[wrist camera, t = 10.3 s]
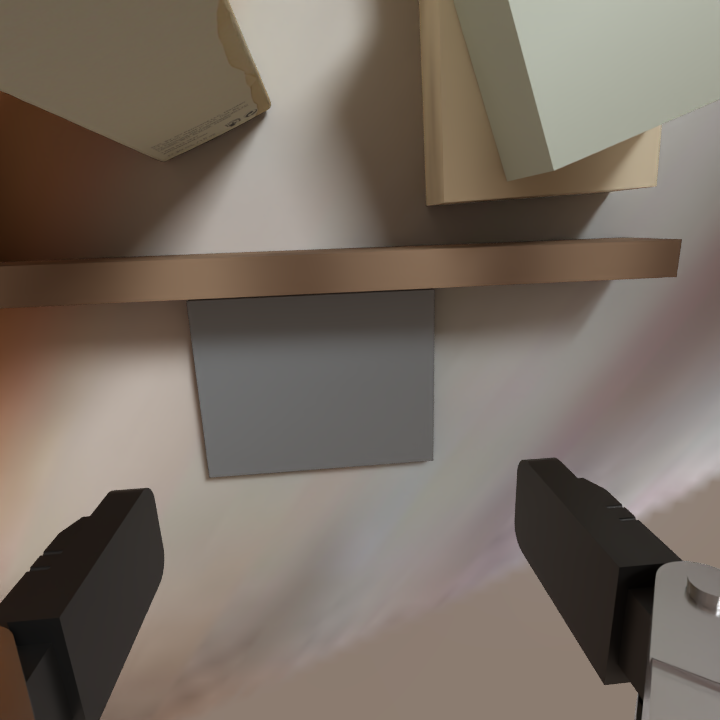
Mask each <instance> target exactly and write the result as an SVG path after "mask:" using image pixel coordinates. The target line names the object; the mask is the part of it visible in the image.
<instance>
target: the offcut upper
mask: <svg viewBox="0 0 720 720" xmlns="http://www.w3.org/2000/svg"><path fill="white" fill-rule="evenodd" d="M453 1H454V5H455V8H456V11H457V15H458V18H459V21H460V25H461V28H462V32H463V35H464V38H465V42H466V45H467V48H468V52H469V55H470V58H471V62H472V65H473V69H474V72H475V75H476V79H477V82H478V85H479V89H480V92H481V95H482V99H483V102H484V105H485V109H486V112H487V116H488V119H489V122H490V126H491V129H492V132H493V136H494V139H495V142H496V146H497V149H498V153H499V156H500V159H501V163H502V166H503V169H504V173H505V176H506V179H507V181H512V180H516V179H520V178H525V177H529V176H533V175H538V174H542V173H546V172H551V171H555V170H557V169H559V168H562V167H564V166H566V165H569V164H571V163H573V162H576V161H578V160H580V159H583V158H585V157H587V156H590V155H592V154H594V153H597V152H599V151H601V150H603V149H606V148H608V147H610V146H613V145H615V144H617V143H620V142H622V141H624V140H627V139H629V138H631V137H634V136H636V135H638V134H641V133H643V132H645V131H648V130H650V129H652V128H655V127H657V126H659V125H662V124H664V123H666V122H669V121H671V120H673V119H676V118H678V117H680V116H683V115H685V114H687V113H690V112H692V111H694V110H697V109H699V108H701V107H704V106H706V105H708V104H710V103H713V102H715V101H717V100H720V0H453Z"/></svg>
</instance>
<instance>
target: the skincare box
mask: <svg viewBox="0 0 720 720" xmlns="http://www.w3.org/2000/svg"><path fill="white" fill-rule="evenodd" d="M0 91H2V92H5V93H7V94H10V95H12V96H14V97H16V98H18V99H20V100H23V101H25V102H27V103H30V104H32V105H35V106H37V107H39V108H41V109H44V110H46V111H48V112H50V113H53V114H55V115H57V116H60V117H62V118H64V119H67V120H68V121H71V122H73V123H75V124H77V125H80V126H82V127H84V128H86V129H88V130H91V131H93V132H96V133H98V134H100V135H103V136H105V137H107V138H109V139H112V140H114V141H116V142H118V143H121V144H123V145H125V146H127V147H130V148H132V149H134V150H137V151H138V152H141V153H143V154H145V155H147V156H150V157H152V158H154V159H157V160H159V161H167V160H169V159H171V158H173V157H175V156H177V155H180V154H182V153H184V152H186V151H188V150H190V149H192V148H194V147H197V146H199V145H201V144H203V143H205V142H207V141H209V140H211V139H213V138H215V137H217V136H219V135H221V134H223V133H225V132H227V131H229V130H231V129H233V128H235V127H237V126H239V125H241V124H243V123H245V122H246V121H248V120H250V119H252V118H254V117H255V116H257V115H259V114H261V113H263V112H265V111H267V110H268V109H269V108H270V106H271V102H270V99H269V96H268V94H267V92H266V89H265V87H264V85H263V82H262V80H261V77H260V75H259V72H258V70H257V68H256V65H255V63H254V61H253V58H252V56H251V54H250V51H249V49H248V47H247V44H246V42H245V40H244V37H243V35H242V32H241V30H240V28H239V25H238V23H237V20H236V18H235V15H234V13H233V10H232V8H231V6H230V3H229V1H228V0H0Z"/></svg>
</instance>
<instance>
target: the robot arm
mask: <svg viewBox="0 0 720 720" xmlns="http://www.w3.org/2000/svg"><path fill="white" fill-rule="evenodd" d="M515 532H516V537H517V541H518V544H519V547H520V549H521V551H522V553H523V554H524V556H525V558H526V559H527V561H528V562H529V564H530V566H531V567H532V569H533V571H534V572H535V574H536V575H537V577H538V579H539V580H540V582H541V583H542V585H543V587H544V588H545V590H546V592H547V593H548V595H549V596H550V598H551V599H552V601H553V603H554V604H555V606H556V607H557V609H558V611H559V613H560V614H561V615H562V617H563V619H564V620H565V622H566V624H567V625H568V627H569V629H570V630H571V632H572V633H573V635H574V637H575V638H576V640H577V642H578V643H579V645H580V646H581V648H582V650H583V651H584V653H585V654H586V656H587V658H588V659H589V661H590V663H591V664H592V666H593V667H594V669H595V671H596V672H597V674H598V675H599V677H600V679H601V680H602V682H603V683H604V685H609V684H618V683H627V682H631V684H632V685H633V686H634V688H635V689H636V691H637V692H638V695H637V702H636V708H635V720H720V569H718V568H715V567H712V566H709V565H705V564H701V563H696V562H688V561H682V560H681V559H680V558H679V557H678V556H677V555H676V554H675V553H674V552H673V551H672V550H670V549H669V548H668V547H667V546H666V545H665V544H664V543H663V542H662V541H661V540H660V539H659V538H658V537H656V536H655V535H654V534H653V533H652V532H651V531H650V530H649V529H648V528H647V527H646V526H645V525H643V524H642V523H641V522H640V521H639V520H636V519H635V516H634V515H633V514H632V513H630V512H629V511H628V510H627V509H626V508H625V507H624V508H623V507H622V504H621V503H620V502H619V501H618V500H616V499H615V498H614V497H613V496H612V495H611V494H610V493H609V492H608V491H607V490H605V489H604V488H602V487H600V486H598V485H596V484H594V483H592V482H590V481H588V480H586V479H584V478H577V477H576V476H575V475H574V474H573V473H572V472H571V471H570V470H569V469H568V468H567V467H566V466H565V465H564V464H563V463H562V462H561V461H560V460H558V459H557V458H543V459H530V460H522V461H520V463H519V465H518V470H517V486H516V504H515ZM163 569H164V549H163V543H162V538H161V532H160V526H159V521H158V515H157V509H156V504H155V498H154V495H153V492H152V491H151V489H149V488H140V489H127V490H114V491H110V492H109V493H108V494H107V495H106V497H105V498H104V499H103V500H102V502H101V503H100V504H99V505H98V507H97V508H96V509H95V511H94V512H93V513H92V514H91V516H88V517H82V518H80V519H79V520H78V521H76V522H75V523H73V524H72V525H70V526H69V527H68V528H66V529H65V530H63V531H62V532H60V533H59V534H58V535H57V536H56V538H55V539H54V540H53V541H52V542H51V544H50V545H49V546H48V547H47V548H46V550H45V551H44V554H43V555H42V556H40V557H39V558H38V559H37V560H36V561H35V563H34V564H33V565H32V566H31V567H30V572H26V573H25V575H24V576H23V577H22V578H21V579H20V580H19V582H18V583H17V584H16V585H15V586H14V588H13V589H12V590H11V591H10V592H9V594H8V595H7V596H6V597H5V598H4V600H3V601H2V602H1V603H0V720H100V717H101V715H102V713H103V711H104V708H105V706H106V704H107V702H108V699H109V697H110V695H111V693H112V690H113V688H114V686H115V684H116V681H117V679H118V677H119V675H120V672H121V670H122V668H123V666H124V663H125V661H126V659H127V657H128V654H129V652H130V650H131V647H132V645H133V643H134V641H135V638H136V636H137V634H138V632H139V629H140V627H141V625H142V623H143V620H144V618H145V616H146V614H147V611H148V609H149V607H150V605H151V602H152V600H153V598H154V596H155V593H156V591H157V589H158V587H159V584H160V582H161V579H162V575H163Z"/></svg>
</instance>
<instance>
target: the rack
mask: <svg viewBox="0 0 720 720" xmlns="http://www.w3.org/2000/svg"><path fill="white" fill-rule="evenodd" d="M681 242H682V239H653V238H600V239H574V240H549V241H523V242H498V243H472V244H446V245H421V246H395V247H370V248H344V249H318V250H293V251H267V252H242V253H216V254H190V255H165V256H139V257H114V258H88V259H62V260H37V261H11V262H0V308H18V307H39V306H61V305H82V304H104V303H125V302H147V301H168V300H190V299H211V298H233V297H254V296H275V295H297V294H318V293H340V292H361V291H383V290H404V289H426V288H447V287H469V286H490V285H512V284H533V283H555V282H576V281H598V280H619V279H641V278H662V277H677V270H678V263H679V256H680V249H681Z"/></svg>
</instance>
